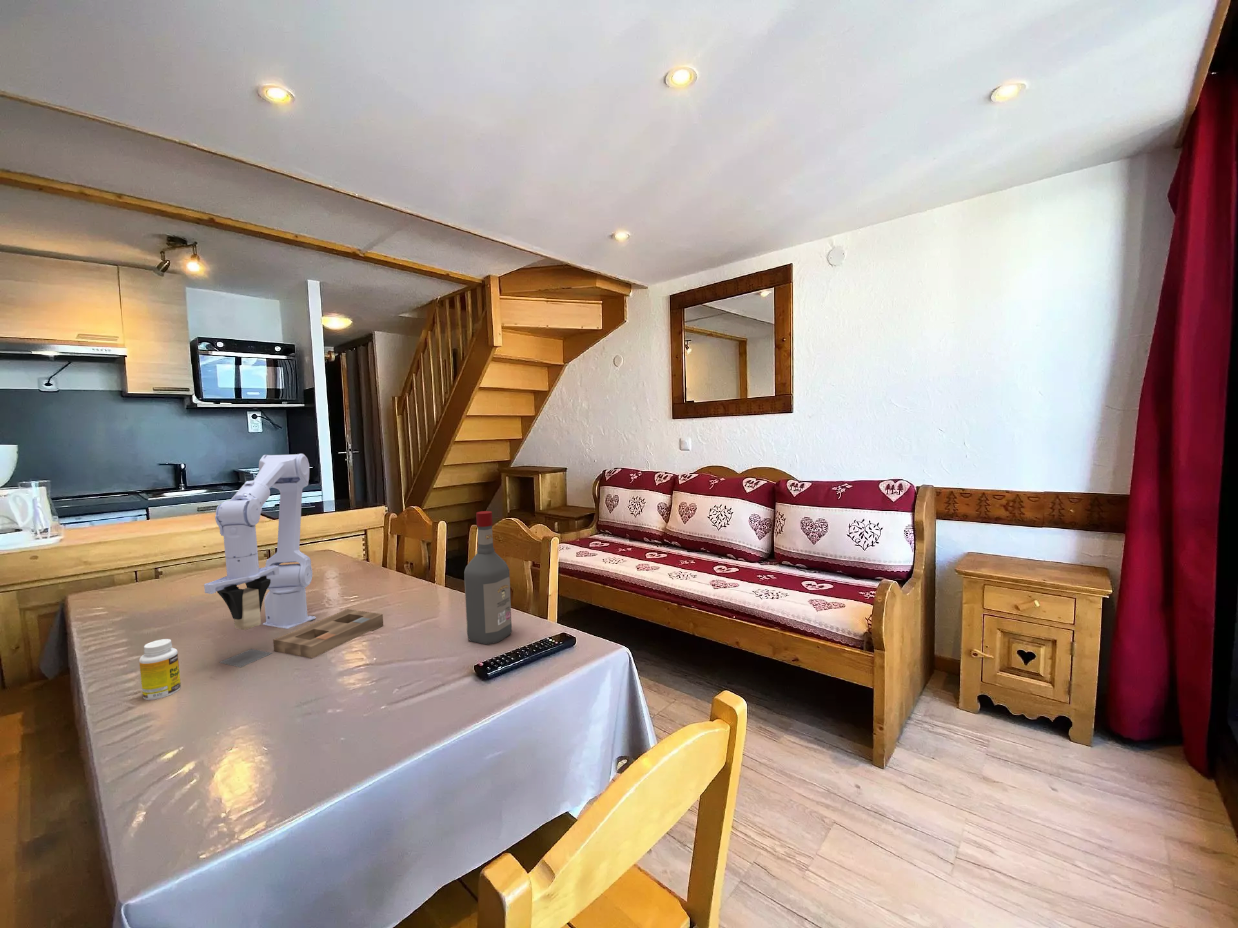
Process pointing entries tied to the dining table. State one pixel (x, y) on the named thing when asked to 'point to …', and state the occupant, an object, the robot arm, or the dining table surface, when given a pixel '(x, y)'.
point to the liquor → (487, 589)
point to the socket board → (328, 633)
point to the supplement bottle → (159, 670)
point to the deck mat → (245, 658)
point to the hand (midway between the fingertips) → (246, 615)
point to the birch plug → (249, 610)
